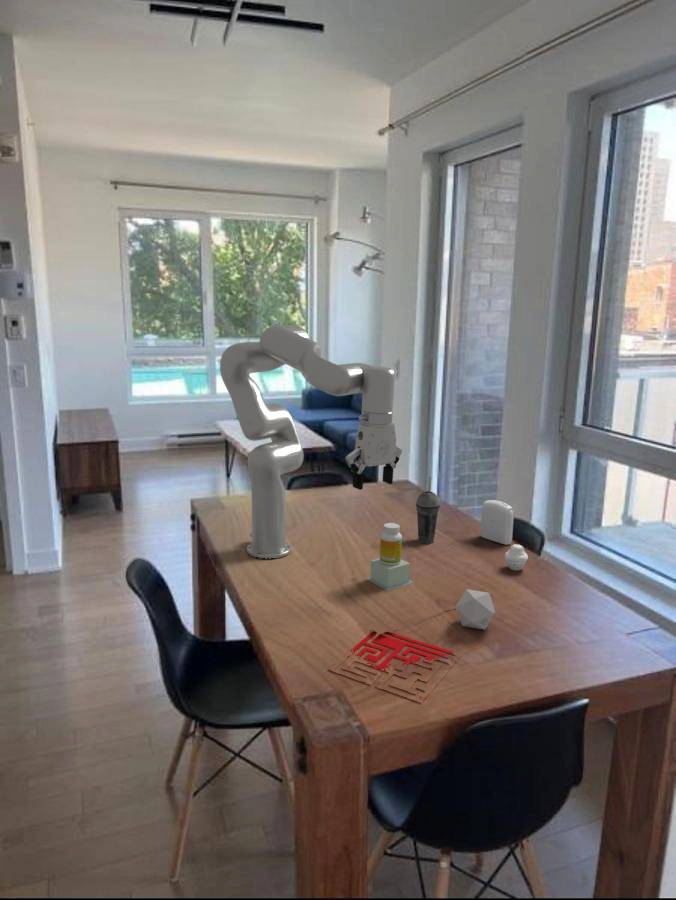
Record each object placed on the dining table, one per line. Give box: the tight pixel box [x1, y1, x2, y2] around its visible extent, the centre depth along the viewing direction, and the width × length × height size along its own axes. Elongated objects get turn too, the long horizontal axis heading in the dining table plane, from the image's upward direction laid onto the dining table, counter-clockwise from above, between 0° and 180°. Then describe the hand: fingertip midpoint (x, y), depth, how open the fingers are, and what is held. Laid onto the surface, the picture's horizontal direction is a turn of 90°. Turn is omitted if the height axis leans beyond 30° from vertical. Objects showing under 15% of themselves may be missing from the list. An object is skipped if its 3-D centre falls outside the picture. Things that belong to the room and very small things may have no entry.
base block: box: [370, 557, 411, 588], centre depth 167 cm, size 7×7×5 cm
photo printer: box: [480, 499, 515, 546], centre depth 200 cm, size 10×4×12 cm, turn 39°
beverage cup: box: [415, 476, 441, 545], centre depth 197 cm, size 7×7×20 cm
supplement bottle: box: [379, 522, 403, 565], centre depth 165 cm, size 5×5×10 cm
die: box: [455, 588, 496, 631], centre depth 147 cm, size 8×9×10 cm
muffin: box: [504, 543, 529, 571], centre depth 179 cm, size 6×6×7 cm
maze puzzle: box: [350, 630, 455, 674], centre depth 132 cm, size 20×20×1 cm
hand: (372, 485), depth 163 cm, fingers open, 9 cm apart
